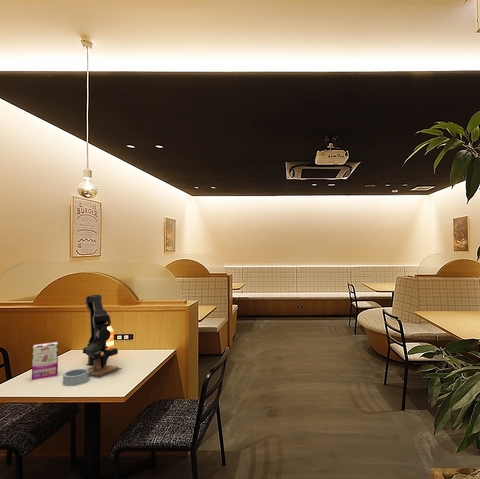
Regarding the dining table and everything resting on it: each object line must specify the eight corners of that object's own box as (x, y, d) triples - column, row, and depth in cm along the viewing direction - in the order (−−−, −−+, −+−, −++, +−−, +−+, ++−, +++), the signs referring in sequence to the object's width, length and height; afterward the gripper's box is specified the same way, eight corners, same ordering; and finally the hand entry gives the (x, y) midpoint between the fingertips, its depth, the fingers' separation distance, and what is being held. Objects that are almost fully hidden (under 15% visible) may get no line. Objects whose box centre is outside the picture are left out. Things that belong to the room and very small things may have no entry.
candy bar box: (57, 373, 168) (58, 341, 169) (57, 376, 163) (58, 343, 164) (32, 377, 163) (33, 344, 164) (31, 380, 158) (32, 346, 159)
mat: (75, 375, 165) (75, 374, 165) (99, 365, 180) (99, 365, 180) (99, 379, 159) (100, 378, 159) (122, 369, 174) (122, 368, 174)
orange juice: (103, 357, 195) (104, 324, 196) (93, 356, 199) (93, 323, 200) (113, 354, 202) (114, 321, 203) (103, 352, 206) (104, 320, 207)
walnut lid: (80, 373, 166) (80, 361, 166) (99, 365, 178) (100, 354, 178) (100, 376, 161) (100, 364, 161) (118, 368, 173) (118, 357, 173)
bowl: (57, 384, 152) (57, 375, 152) (76, 377, 162) (77, 367, 163) (74, 387, 148) (75, 377, 148) (93, 379, 158) (93, 370, 159)
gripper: (74, 339, 166) (73, 370, 165) (102, 342, 160) (102, 374, 158) (91, 334, 177) (91, 363, 176) (118, 337, 170) (118, 367, 169)
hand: (100, 367), depth 169 cm, fingers closed on walnut lid, 3 cm apart
